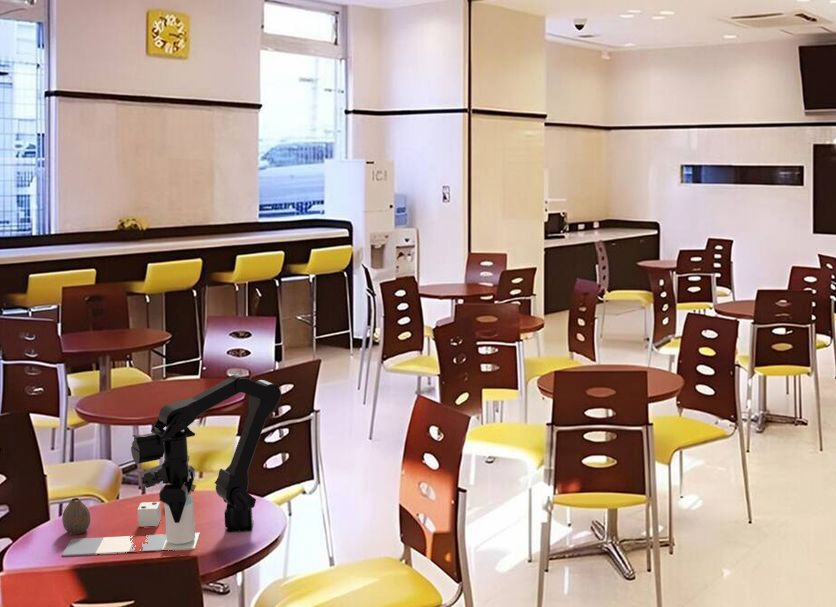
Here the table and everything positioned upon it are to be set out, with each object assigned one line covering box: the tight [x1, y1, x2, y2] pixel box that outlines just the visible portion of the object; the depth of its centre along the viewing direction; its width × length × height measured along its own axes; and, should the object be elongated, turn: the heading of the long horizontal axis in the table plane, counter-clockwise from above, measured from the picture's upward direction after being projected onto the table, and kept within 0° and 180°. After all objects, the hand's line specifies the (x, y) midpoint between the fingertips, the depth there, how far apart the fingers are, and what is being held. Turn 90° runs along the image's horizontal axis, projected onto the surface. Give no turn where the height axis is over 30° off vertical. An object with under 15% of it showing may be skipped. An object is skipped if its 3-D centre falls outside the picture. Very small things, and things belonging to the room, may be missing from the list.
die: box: [137, 501, 162, 527], centre depth 272 cm, size 5×5×5 cm
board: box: [61, 532, 201, 557], centre depth 258 cm, size 32×10×1 cm, turn 95°
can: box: [163, 492, 196, 545], centre depth 258 cm, size 7×7×12 cm
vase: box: [61, 497, 91, 536], centre depth 267 cm, size 7×7×9 cm
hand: (179, 515), depth 258 cm, fingers open, 9 cm apart
